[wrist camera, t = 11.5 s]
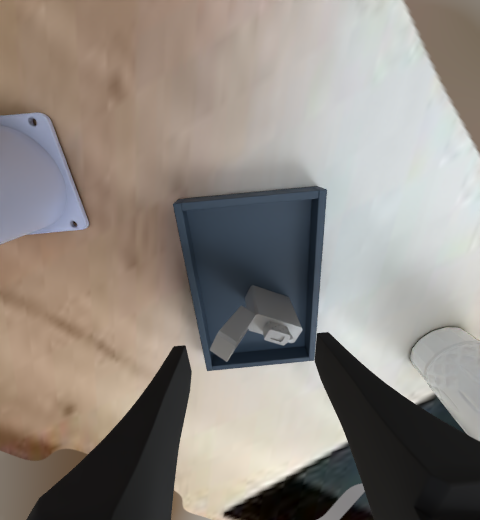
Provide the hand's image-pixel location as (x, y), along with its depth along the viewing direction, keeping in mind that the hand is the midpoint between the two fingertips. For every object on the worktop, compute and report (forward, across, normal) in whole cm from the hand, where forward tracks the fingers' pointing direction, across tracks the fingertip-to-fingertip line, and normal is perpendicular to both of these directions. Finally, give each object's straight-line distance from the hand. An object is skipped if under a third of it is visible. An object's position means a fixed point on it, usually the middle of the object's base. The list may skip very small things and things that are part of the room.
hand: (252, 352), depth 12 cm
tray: (+10, -1, +2) cm, 10 cm away
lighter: (+9, -1, +2) cm, 10 cm away
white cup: (+10, -22, +12) cm, 27 cm away
